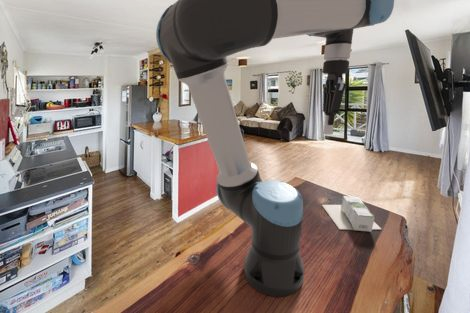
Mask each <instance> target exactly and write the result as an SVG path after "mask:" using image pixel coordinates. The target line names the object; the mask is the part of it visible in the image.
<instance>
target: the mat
mask: <svg viewBox="0 0 470 313" xmlns="http://www.w3.org/2000/svg"><path fill="white" fill-rule="evenodd" d="M321 206H322V208H323V209H324V210H325V212H326V213H327V214H328V216H329V217H330V219H331V220H332V221H333V222H332V223H334V225H335V226H336V227H337V228H338V230H339V231H354V230H353V228H352V227H351V225H350V223H349V221H348V220H347V218H346V216H345V215H344V213H343V211H342V210H341V204H322V205H321ZM372 231H382V227H380V226H379V225H378V224H377V223H376V222H375V221H374V223H373V227H372Z"/></svg>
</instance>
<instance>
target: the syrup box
mask: <svg viewBox="0 0 470 313" xmlns="http://www.w3.org/2000/svg"><path fill="white" fill-rule="evenodd" d="M340 205H341V210H342V211H343V213H344V215H345V216H346V218H347V220H348V221H349V223H350V225H351V227H352V228H353V230H352V231H360V232H371V233H372V231H373V230H372V227H373V223H374V222H375V215H374V214H373V213H372V211H371V210H370V208H368V207H367V206H366V204H365V203H364V202H363V201H362V200H361V198H360V197H359V196H354V195H351V196H350V195H343V196H342V198H341V204H340Z"/></svg>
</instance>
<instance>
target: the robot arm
mask: <svg viewBox="0 0 470 313" xmlns="http://www.w3.org/2000/svg"><path fill="white" fill-rule="evenodd" d="M394 6H395V0H177V1H175V2H174V3H173V4H171V5H169V6H168V7H167V8H166V9H165V10H164V12H162V15H161V16H160V18H159V20H158V23H157V26H156V31H155V32H156V33H155V34H156V36H155V38H156V43H157V46H158V49H159V51H160V54H161V55H162V56H163V57H164V58H165V60H167V61H168V62H169V63H170V64H171V65H172V68H173V70H174V73H175V76H176V78H177V80H178V82H181V83H182V84H185V85H186V86H187V87H188V91H189V93H190V96H191V98H192V100H193V104H194V107H195V109H196V112H197V114H198V117H199V120H200V122H201V125H202V128H203V130H204V135H205V136H206V138H207V142H208V144H209V146H210V150H211V152H212V156H213V157H214V161H215V162H216V163H215V164H216V166H217V168H218V171H219V172H218V173H217V175H216V182H217V184H216V188H215V189H216V195H217V198H218V200H219V201H220V202H221V204H222V205H223V207H225V208H226V209H227V210H229V211H231V212H232V213H234V214H235V215H236V216H237V217H238V218H239V219H241V220H242V221H243V222H244V223H246V225H248V226H249V227H250V229H251V245H250V247H249V250H248V252H247V255H246V257H245V260H244V276H245V279H246V281H247V282H248V284H249V285H250V286H251V287H252V288H253V289H254V290H256V291H258V292H260V293H261V294H264V295H267V296H270V297H286V296H290V295H292V294H294V293H296V292H298V291H299V289H300V288H301V287H302V285H303V283H304V279H305V278H304V277H305V266H304V263H303V259H302V256H301V252H300V242H301V235H302V234H301V232H302V224H303V217H304V201H303V196H302V194H301V193H300V191H299V190H298V189H297V188H295V187H294V186H293V185H291V184H289V183H287V182H283V181H277V180H271V179H269V180H268V179H267V180H263V181H262V179H261V176H260V173H259V168H258V166H257V165H256V164H255V163H254V162H252V161H250V157H249V155H248V154H249V153H248V152H247V148H246V145H245V141H244V140H245V139H244V138H243V135H242V131H241V127H240V124H239V120H238V117H237V112H236V110H235V106H234V104H233V100H232V96H231V93H230V90H229V87H228V83H227V80H226V77H225V71H226V69H227V68H228V65H229V62H228V58H227V57H230V56H232V55H235V54H237V53H240V52H242V51H243V52H244V51H247V50H250V49H254V48H262V47H265V46H267V45H268V44H270V43H271V42H272V40H273V39H274V40H276V39H282V38H289V37H296V36H305V35H307V36H308V37H316V38H324V39H325V46H324V53H323V60H325V61H324V62H323V65H322V73H323V74H324V75H327V76H326V80H325V83H323V84H322V90H323V92H322V94H323V95H322V112H323V113H324V124H323V133H322V134H323V135H334V126H335V119H336V116H337V115H338V114H339V113H340V109H341V105H342V101H343V96H344V92H345V90H346V87H347V83H346V82H343V81H344V76H343V74H344V75H345V74H348V72H349V67H350V61H349V60H350V56H351V53H352V50H353V49H352V43H353V37H354V36H353V35H354V30H355V29H360V28H365V27H370V26H375V25H379V24H382V23H385V22H386V21H387V20H388V19H389V18H390V17H391V15H392V13H393V11H394Z"/></svg>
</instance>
